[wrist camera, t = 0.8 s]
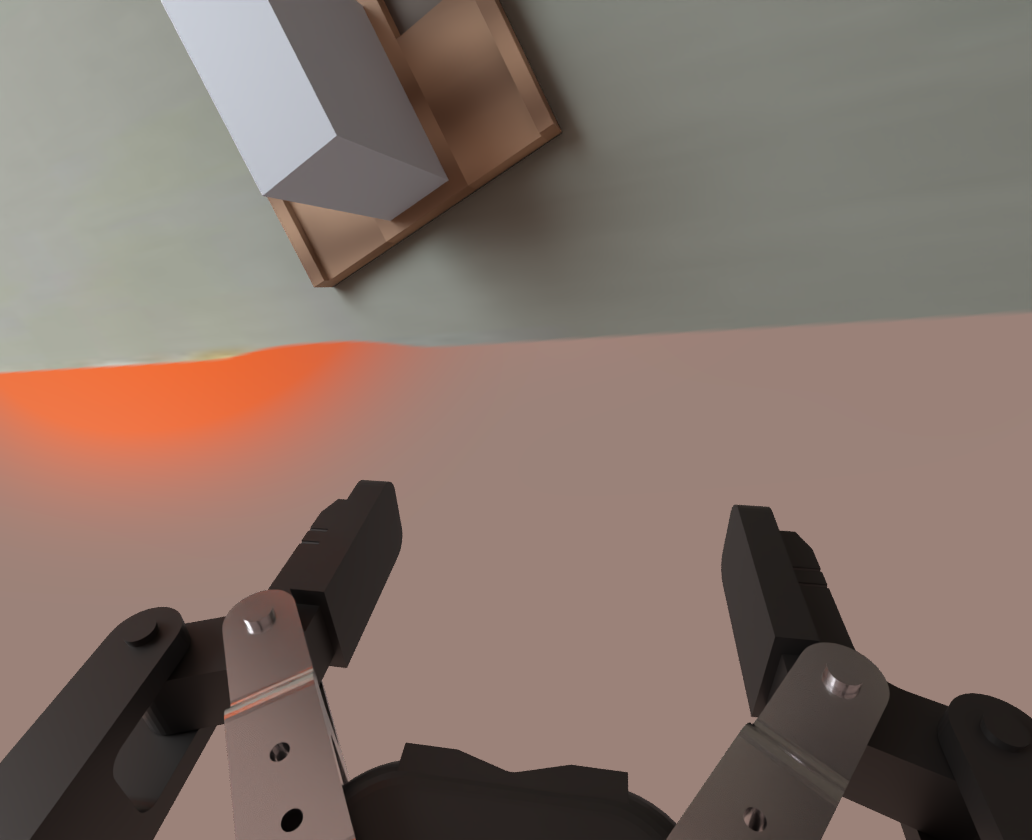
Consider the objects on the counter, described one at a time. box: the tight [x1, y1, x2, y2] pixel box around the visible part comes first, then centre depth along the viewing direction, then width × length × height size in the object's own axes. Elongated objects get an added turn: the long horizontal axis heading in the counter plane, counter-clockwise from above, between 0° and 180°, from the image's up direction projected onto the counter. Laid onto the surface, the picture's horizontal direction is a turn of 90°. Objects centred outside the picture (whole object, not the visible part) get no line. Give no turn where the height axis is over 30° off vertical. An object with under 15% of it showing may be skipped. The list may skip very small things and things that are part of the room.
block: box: [161, 0, 448, 221], centre depth 31 cm, size 12×5×12 cm, turn 28°
